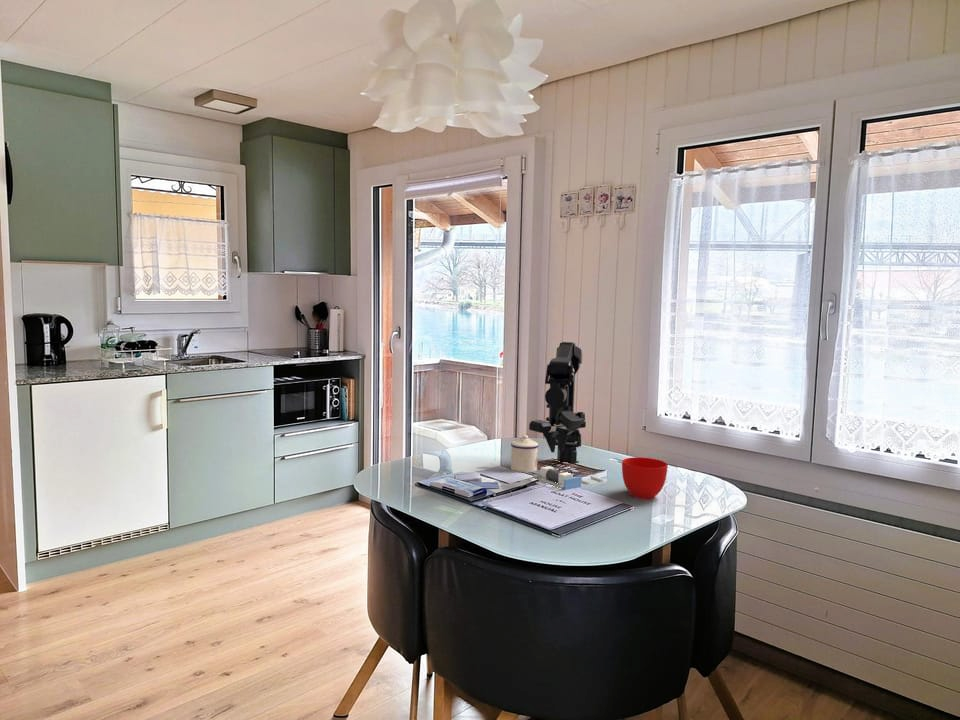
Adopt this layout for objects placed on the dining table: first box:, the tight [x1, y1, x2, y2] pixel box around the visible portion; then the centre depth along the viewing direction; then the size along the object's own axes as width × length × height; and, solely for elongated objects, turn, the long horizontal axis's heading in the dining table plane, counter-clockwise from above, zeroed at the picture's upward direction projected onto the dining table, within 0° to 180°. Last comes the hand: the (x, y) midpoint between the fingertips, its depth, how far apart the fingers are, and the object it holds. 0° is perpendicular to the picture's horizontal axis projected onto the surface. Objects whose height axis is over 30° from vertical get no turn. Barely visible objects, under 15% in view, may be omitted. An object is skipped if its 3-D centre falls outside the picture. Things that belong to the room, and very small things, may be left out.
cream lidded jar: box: [510, 434, 539, 473], centre depth 226 cm, size 12×9×12 cm
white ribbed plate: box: [532, 469, 609, 492], centre depth 213 cm, size 15×22×3 cm
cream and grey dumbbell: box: [539, 465, 573, 486], centre depth 210 cm, size 11×4×4 cm, turn 35°
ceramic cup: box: [621, 456, 668, 500], centre depth 201 cm, size 13×17×10 cm
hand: (556, 451), depth 209 cm, fingers open, 3 cm apart
